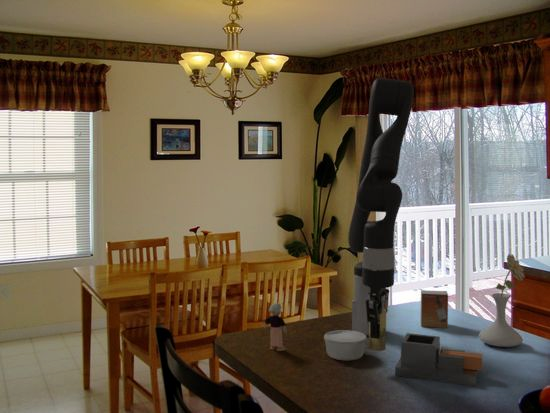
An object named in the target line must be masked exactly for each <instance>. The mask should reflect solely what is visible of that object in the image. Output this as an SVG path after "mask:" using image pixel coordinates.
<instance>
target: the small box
mask: <svg viewBox="0 0 550 413" xmlns="http://www.w3.org/2000/svg"><path fill="white" fill-rule="evenodd" d="M448 316H449V294H448V291H447V290H427V289H426V290H425V289H421V290H420V319H419V320H420V327H423V328H424V327H425V328H427V327H428V328H440V329H448V323H449V322H448V321H449V319H448V318H449V317H448Z"/></svg>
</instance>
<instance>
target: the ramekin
mask: <svg viewBox="0 0 550 413" xmlns="http://www.w3.org/2000/svg"><path fill="white" fill-rule="evenodd" d="M323 340H324V342H325V343H324V344H325V349H326V353H327V355H328V356H329V357H330V358H331V359H334V360H338V361H356V360H359V359H361V358H362V357H363V355H364V354H365V349H366V342H367V341H368V340H367V335H365V334H363V333H361V332H357V331H352V330H346V329H341V330H339V329H338V330H332V331H327V332H326V333H325V334H324V336H323Z"/></svg>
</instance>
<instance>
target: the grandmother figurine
mask: <svg viewBox="0 0 550 413" xmlns="http://www.w3.org/2000/svg"><path fill="white" fill-rule="evenodd" d="M281 310H282V305H281V303H279V302H274V303H273V304H271V305H270V307H269V309H268V311H269V313H271V314H272V315H269V316H268V317H266V319H265V320H264V324H263V328H264V329H265V328H267V327H268V325H270V331H269V332H270V333H269V334H270V335H269V336H270V337H269V340H270V347H269V350H272V351H274V350H276V351H277V352H282V351H286V350H287V349H286V347H285V346H284V344H283V343H284V342H283V333H284V334H286V333H288V329H287V325H286V322H285V320H284V319H283V317H281V316H280V315H281Z"/></svg>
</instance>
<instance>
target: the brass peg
mask: <svg viewBox="0 0 550 413" xmlns="http://www.w3.org/2000/svg"><path fill="white" fill-rule="evenodd" d="M378 310H380V309H378ZM373 317H375V315H373ZM380 320H381V322H380V337H379V339H375V338H371V337H370V322H369V335H368V349H369V350H371V351H374V352H382V351H385V350H386V346H387V344H386V342H387V313H386V307H383V313H382V314H381V319H380Z"/></svg>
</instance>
